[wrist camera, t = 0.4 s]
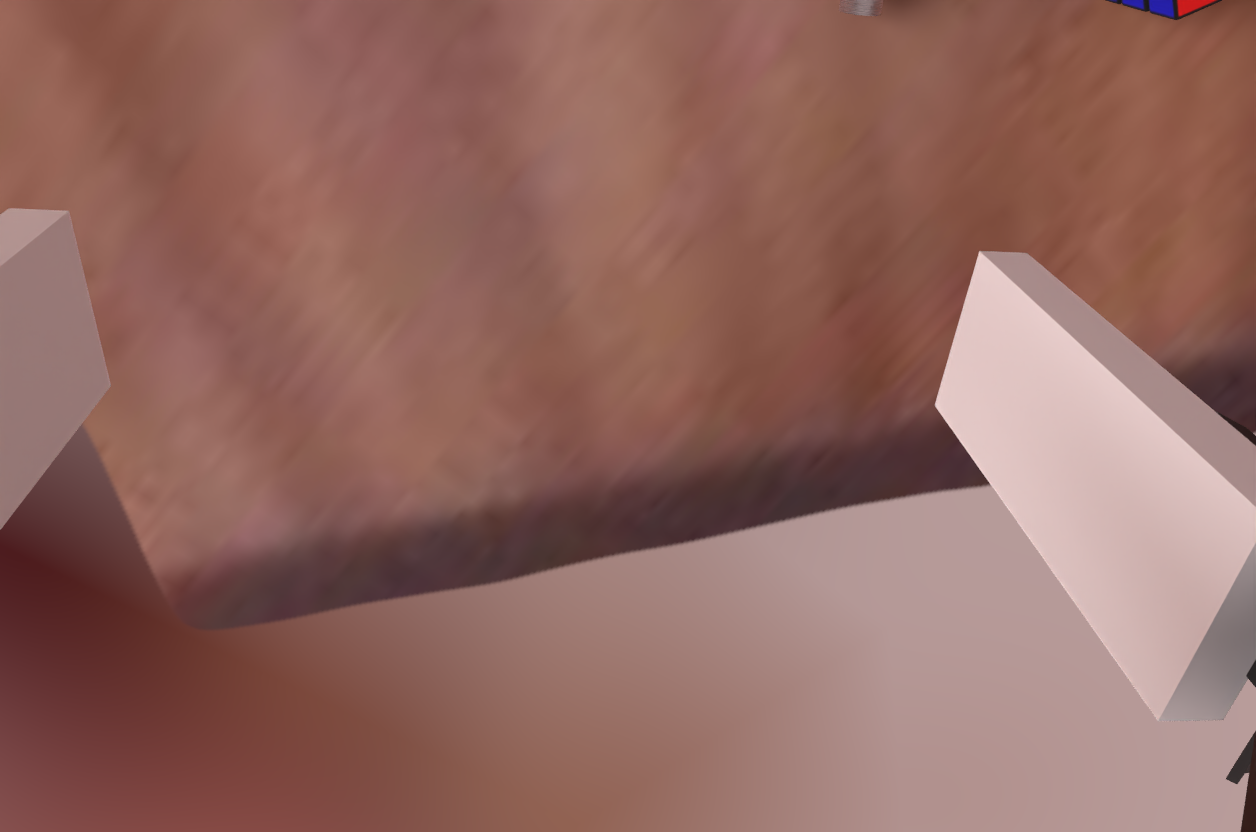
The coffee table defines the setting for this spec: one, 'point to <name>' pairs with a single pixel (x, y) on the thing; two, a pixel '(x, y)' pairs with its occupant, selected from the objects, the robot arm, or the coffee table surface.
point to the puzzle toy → (1168, 6)
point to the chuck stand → (861, 7)
